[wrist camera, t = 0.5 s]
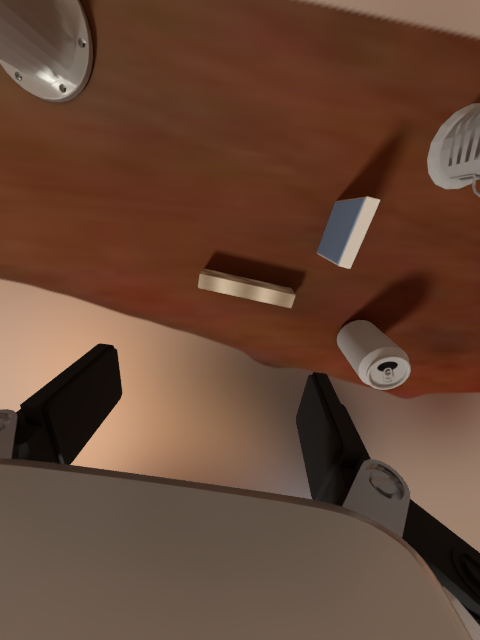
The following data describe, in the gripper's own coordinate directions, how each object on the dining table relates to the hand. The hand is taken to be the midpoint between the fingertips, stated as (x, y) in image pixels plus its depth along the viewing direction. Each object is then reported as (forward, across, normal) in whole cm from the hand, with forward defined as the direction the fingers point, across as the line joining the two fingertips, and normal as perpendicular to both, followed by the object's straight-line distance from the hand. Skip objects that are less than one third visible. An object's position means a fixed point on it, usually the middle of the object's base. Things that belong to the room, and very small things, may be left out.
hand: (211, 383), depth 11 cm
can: (+32, -24, +10) cm, 41 cm away
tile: (+31, -13, -8) cm, 35 cm away
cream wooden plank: (+31, -1, +3) cm, 31 cm away
